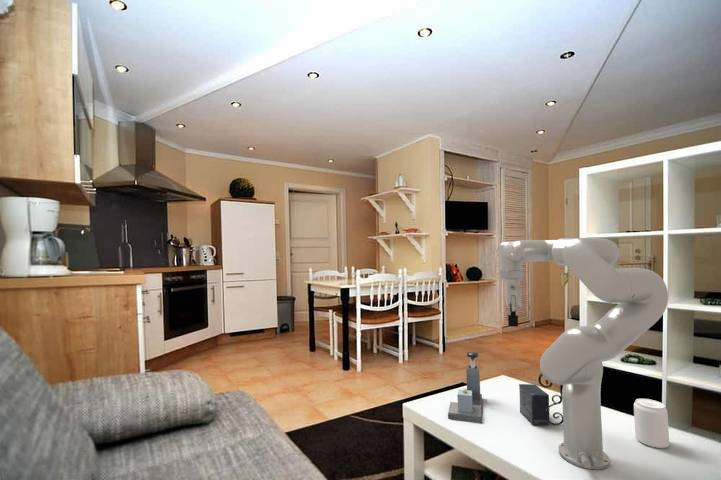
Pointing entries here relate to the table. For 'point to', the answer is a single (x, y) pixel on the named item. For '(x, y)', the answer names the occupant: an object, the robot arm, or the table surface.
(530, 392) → the small box
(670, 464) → the table surface
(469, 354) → the plunger
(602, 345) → the robot arm
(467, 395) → the housing
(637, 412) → the white cylindrical container
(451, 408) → the press
